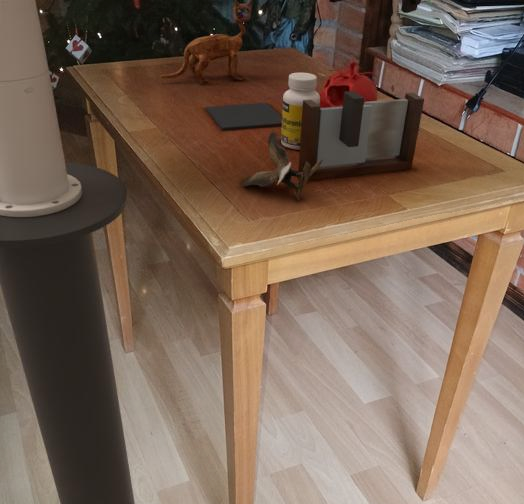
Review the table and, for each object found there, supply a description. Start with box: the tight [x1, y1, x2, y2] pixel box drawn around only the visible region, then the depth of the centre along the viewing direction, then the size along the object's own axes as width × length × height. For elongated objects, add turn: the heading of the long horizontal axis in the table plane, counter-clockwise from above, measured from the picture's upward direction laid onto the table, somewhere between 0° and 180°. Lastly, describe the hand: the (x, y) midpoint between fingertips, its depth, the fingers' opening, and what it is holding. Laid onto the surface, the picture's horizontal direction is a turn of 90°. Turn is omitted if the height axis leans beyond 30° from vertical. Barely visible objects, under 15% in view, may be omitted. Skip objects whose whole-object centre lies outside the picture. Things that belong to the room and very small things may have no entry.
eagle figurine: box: [243, 131, 323, 201], centre depth 78 cm, size 8×7×9 cm
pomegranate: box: [318, 59, 378, 108], centre depth 100 cm, size 10×10×9 cm
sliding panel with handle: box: [315, 91, 372, 167], centre depth 79 cm, size 7×4×10 cm, turn 108°
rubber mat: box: [205, 102, 282, 131], centre depth 103 cm, size 11×11×1 cm
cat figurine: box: [160, 0, 253, 83], centre depth 115 cm, size 18×7×14 cm, turn 111°
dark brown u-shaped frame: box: [297, 92, 425, 181], centre depth 83 cm, size 16×3×10 cm, turn 108°
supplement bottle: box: [280, 72, 320, 151], centre depth 90 cm, size 5×5×10 cm
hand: (372, 6), depth 75 cm, fingers open, 9 cm apart
